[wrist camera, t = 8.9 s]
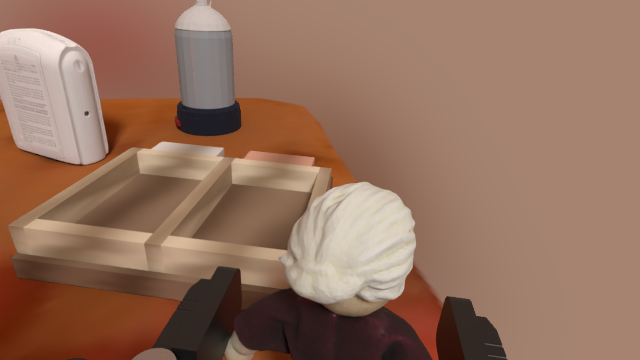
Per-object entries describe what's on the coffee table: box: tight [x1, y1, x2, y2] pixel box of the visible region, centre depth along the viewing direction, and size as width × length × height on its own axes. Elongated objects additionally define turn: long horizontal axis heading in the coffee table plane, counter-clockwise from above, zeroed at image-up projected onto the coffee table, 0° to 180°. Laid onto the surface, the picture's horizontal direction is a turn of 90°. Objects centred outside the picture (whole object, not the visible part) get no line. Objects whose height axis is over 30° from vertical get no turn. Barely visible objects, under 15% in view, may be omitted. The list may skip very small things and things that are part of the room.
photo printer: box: [0, 29, 108, 165], centre depth 38 cm, size 10×4×12 cm, turn 69°
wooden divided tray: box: [8, 142, 333, 310], centre depth 29 cm, size 18×16×4 cm
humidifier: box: [175, 0, 241, 136], centre depth 46 cm, size 8×8×25 cm
